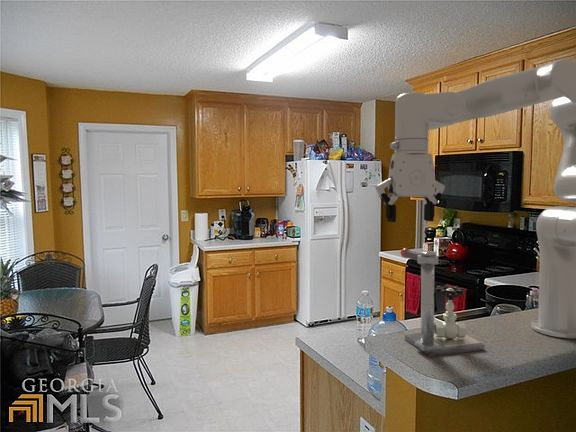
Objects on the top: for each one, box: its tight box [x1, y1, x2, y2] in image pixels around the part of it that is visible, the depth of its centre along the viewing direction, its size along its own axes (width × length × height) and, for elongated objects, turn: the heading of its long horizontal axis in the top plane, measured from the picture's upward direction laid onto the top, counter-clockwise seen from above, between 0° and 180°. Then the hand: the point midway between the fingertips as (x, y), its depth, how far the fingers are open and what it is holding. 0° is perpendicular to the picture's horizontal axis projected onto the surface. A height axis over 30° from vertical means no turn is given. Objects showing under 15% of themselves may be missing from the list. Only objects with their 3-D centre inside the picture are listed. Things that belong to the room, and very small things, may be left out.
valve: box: [434, 284, 467, 339], centre depth 104 cm, size 7×7×12 cm
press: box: [404, 250, 485, 357], centre depth 104 cm, size 15×11×23 cm
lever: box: [400, 248, 439, 266], centre depth 103 cm, size 13×4×2 cm, turn 14°
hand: (410, 221), depth 104 cm, fingers open, 9 cm apart
